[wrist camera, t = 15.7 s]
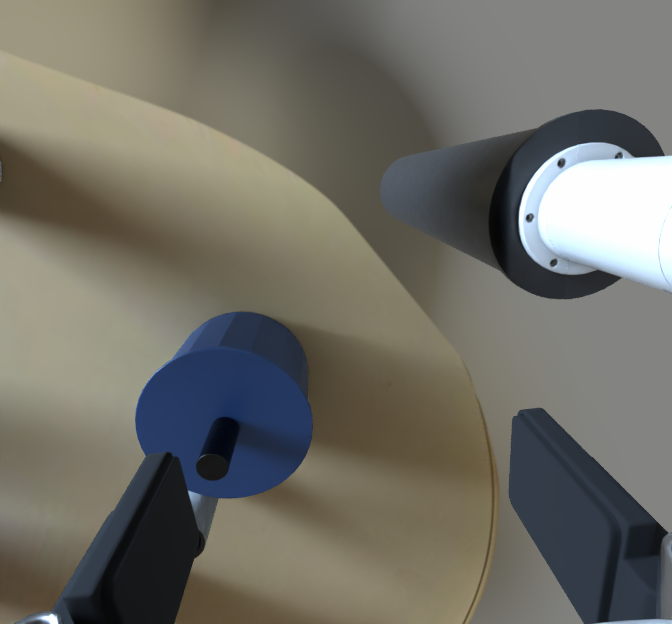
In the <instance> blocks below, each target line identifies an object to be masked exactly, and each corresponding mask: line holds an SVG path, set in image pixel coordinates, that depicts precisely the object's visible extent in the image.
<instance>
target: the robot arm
mask: <svg viewBox="0 0 672 624" xmlns="http://www.w3.org/2000/svg"><path fill="white" fill-rule="evenodd" d="M558 162H559V164H558V165H557V163H558ZM526 216H528V218H527V219H526ZM518 231H519V236H520V239H521V242H522V245H523V247H524V248H525V250H526V252H527V254H528V255H529V256H530V257H531V258H532V259H533V260H534V261H535V262H536V263H538V264H539V265H540V266H542V267H543V268H546V269H548V270H550V271H553V272H556V273H560V274H566V275H579V274H586V273H589V272H592V271H596V270H601V271H604V272H607V273H610V274H613V275H616V276H619V277H622V278H625V279H628V280H631V281H634V282H637V283H641V284H644V285H647V286H650V287H653V288H656V289H659V290H662V291H665V292H669V293H671V294H672V156H658V157H641V158H635V157H633V156H632V155H631V154H630V153H629V152H627V151H626V150H624V149H622V148H620V147H618V146H616V145H612V144H608V143H586V144H579V145H576V146H573V147H570V148H567V149H565V150H563V151H561V152H559V153H557V154H556V155H554V156H553V157H552V158H550V159H549V160H548V161H546V162H545V163H544V164H543V165H542V166H541V167H540V168H539V169H538V170H537V172H536V173H535V174H534V176H533V177H532V178H531V180H530V181H529V183H528V185H527V187H526V189H525V191H524V193H523V195H522V198H521V202H520V206H519V211H518ZM550 262H551V263H550ZM511 437H512V438H511V455H510V475H509V498H510V502H511V504H512V506H513V508H514V510H515V511H516V513H517V515H518V516H519V518H520V519H521V521H522V523H523V524H524V526H525V528H526V529H527V531H528V533H529V534H530V536H531V538H532V539H533V541H534V542H535V544H536V546H537V547H538V549H539V551H540V552H541V554H542V556H543V557H544V559H545V560H546V562H547V564H548V565H549V567H550V569H551V570H552V572H553V573H554V575H555V577H556V578H557V580H558V582H559V583H560V585H561V587H562V588H563V590H564V592H565V593H566V595H567V597H568V598H569V600H570V601H571V603H572V605H573V606H574V608H575V610H576V611H577V613H578V615H579V616H580V618H581V619H582V621H583V622H584V624H672V532H670V533H668V532H667V531H666V530H665V529H664V528H663V527H662V526H661V525H660V524H659V523H658V522H657V521H656V520H655V519H654V518H653V517H652V516H651V515H650V514H649V513H648V512H647V511H646V510H645V509H644V508H643V507H642V506H641V505H640V504H639V503H638V502H637V501H636V500H635V499H634V498H633V497H632V496H631V495H630V494H629V493H628V492H627V491H626V490H625V489H624V488H623V487H622V486H621V485H620V484H619V483H618V482H617V481H616V480H615V479H614V478H613V477H612V476H611V475H610V474H609V473H608V472H607V471H606V470H605V469H604V468H603V467H602V466H601V465H600V464H599V463H598V462H597V461H596V460H595V459H594V458H593V457H591V456H590V455H589V454H588V453H587V452H586V451H585V450H584V449H583V448H582V447H581V446H580V445H579V444H578V443H577V442H576V441H575V440H574V439H573V438H572V437H571V436H570V435H569V434H568V433H567V432H566V431H565V430H564V429H563V428H562V427H561V426H560V425H559V424H558V423H557V422H556V421H555V420H554V419H553V418H552V417H551V416H550V415H549V414H548V413H547V412H546V411H545V410H544V409H542V408H533V409H525V410H520V411H519V412H518V416H514V417H513V419H512V435H511ZM198 544H199V530H198V526H197V522H196V519H195V515H194V511H193V507H192V504H191V500H190V496H189V493H188V489H187V485H186V481H185V478H184V474H183V470H182V466H181V463H180V460H179V458H178V457H177V456H174V457H173V455H172V453H171V452H162V453H154V454H148V455H147V456H146V457H145V459H144V460H143V462H142V464H141V465H140V467H139V469H138V471H137V472H136V474H135V476H134V477H133V479H132V481H131V482H130V484H129V486H128V487H127V489H126V491H125V493H124V494H123V496H122V498H121V499H120V501H119V503H118V504H117V506H116V508H115V510H113V511H112V512H111V513H110V514H109V515H108V517H107V518H106V520H105V522H104V523H103V525H102V527H101V528H100V530H99V532H98V533H97V535H96V537H95V538H94V540H93V542H92V543H91V545H90V547H89V548H88V550H87V552H86V553H85V555H84V557H83V558H82V560H81V562H80V564H79V565H78V567H77V569H76V570H75V572H74V574H73V575H72V577H71V579H70V580H69V582H68V584H67V585H66V587H65V589H64V590H63V592H62V594H61V595H60V597H59V599H58V600H57V602H56V604H55V605H54V607H53V609H52V610H51V611H46V612H38V613H35V614H32V615H29V616H27V617H25V618H23V619H21V620H19V621H17V622H15V623H14V624H174V623H175V620H176V616H177V613H178V610H179V607H180V603H181V600H182V597H183V594H184V590H185V587H186V584H187V580H188V577H189V574H190V571H191V567H192V564H193V561H194V558H195V554H196V551H197V548H198Z"/></svg>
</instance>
